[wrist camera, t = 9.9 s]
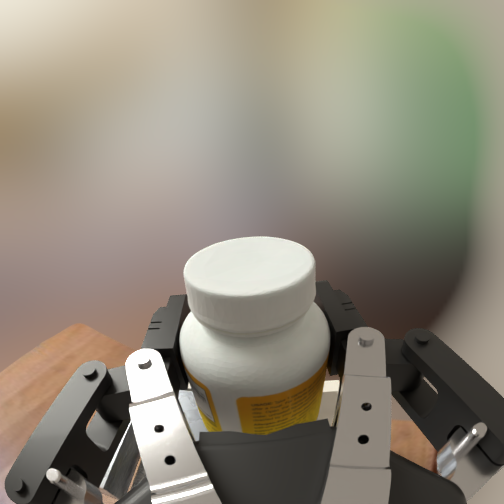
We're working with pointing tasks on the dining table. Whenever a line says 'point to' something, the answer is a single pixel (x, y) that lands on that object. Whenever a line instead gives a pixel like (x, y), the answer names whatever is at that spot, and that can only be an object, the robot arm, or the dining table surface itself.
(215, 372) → the supplement bottle
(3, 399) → the dining table surface
